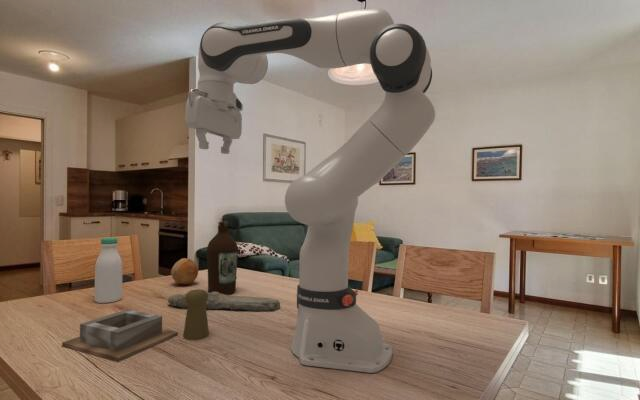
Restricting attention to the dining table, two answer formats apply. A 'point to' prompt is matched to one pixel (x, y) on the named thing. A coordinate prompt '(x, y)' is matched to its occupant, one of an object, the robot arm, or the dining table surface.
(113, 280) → the milk bottle
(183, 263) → the onion
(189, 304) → the cork
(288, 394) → the dining table surface
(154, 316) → the socket block
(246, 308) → the long grey stone
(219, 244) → the olive oil
